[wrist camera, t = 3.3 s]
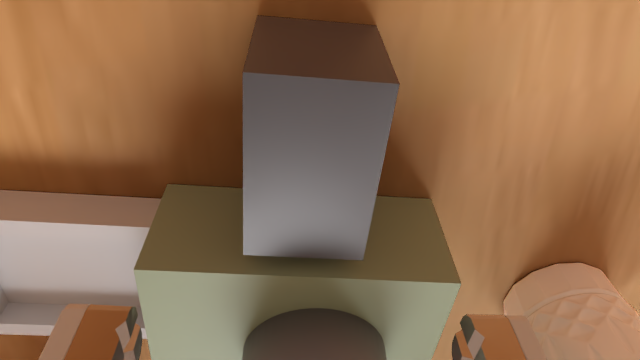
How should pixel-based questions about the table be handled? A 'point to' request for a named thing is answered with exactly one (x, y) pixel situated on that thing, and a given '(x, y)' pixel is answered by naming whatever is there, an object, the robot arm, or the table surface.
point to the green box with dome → (224, 277)
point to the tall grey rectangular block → (313, 136)
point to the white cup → (576, 313)
